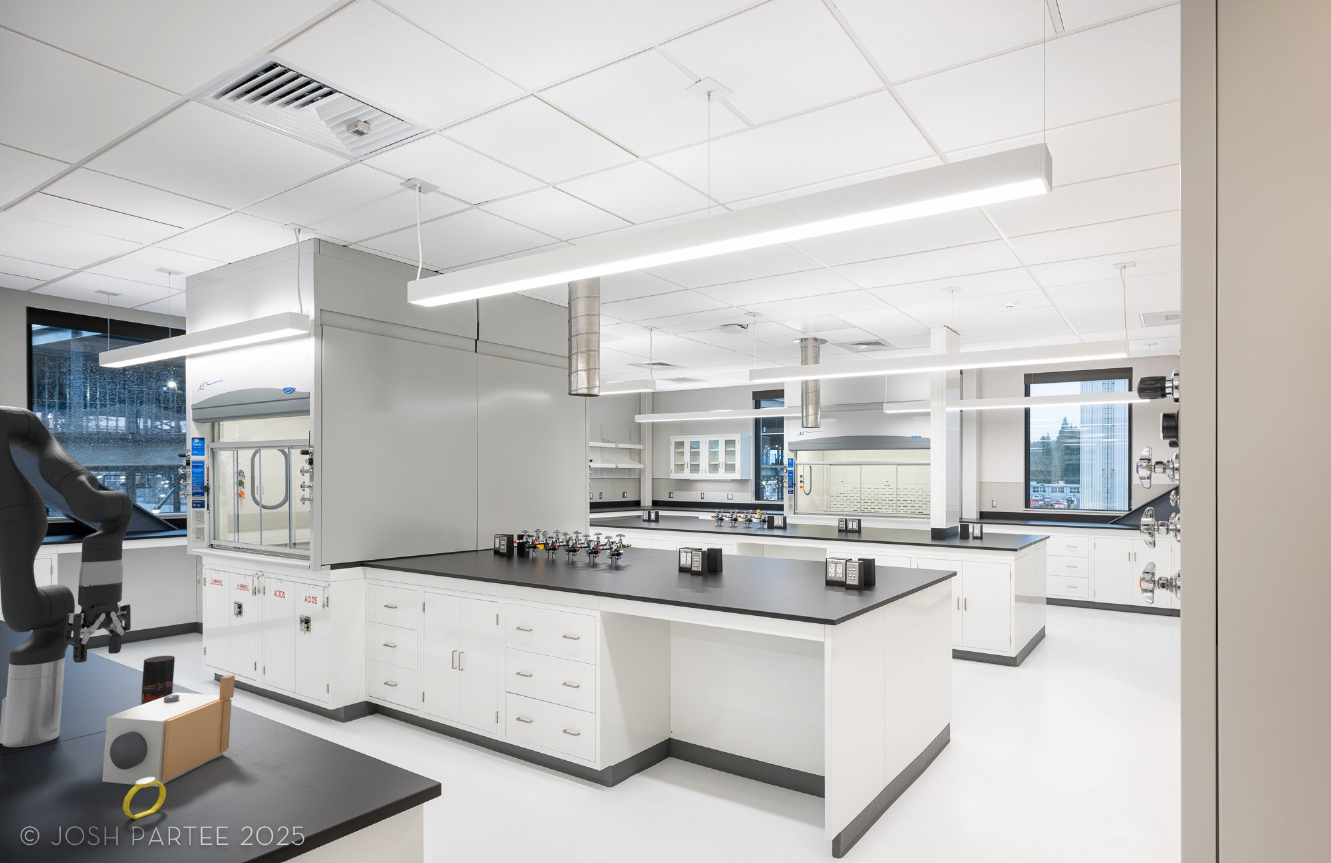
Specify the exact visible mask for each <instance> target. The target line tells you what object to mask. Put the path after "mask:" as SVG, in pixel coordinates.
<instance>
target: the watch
mask: <svg viewBox="0 0 1331 863" xmlns="http://www.w3.org/2000/svg"><path fill="white" fill-rule="evenodd" d="M154 783H155V784H157V785H158V788H159V796H158V799H157V801H156V803H155V804H154V805H153V806H152V807H151V808H150V809H148V810H145V811H143V812H139V813H137V814H135V815H134V814H133V813H131V810H130V804H131V801H132V799H133V797H134V796H135V794H136V793H137V792H138V791H139V790H140V789H143V788H144V789H145V788H148V787H152V786H151V785H153V784H154ZM166 796H167V789H166V786H165V785H164V784H162V783H161V782H159V781H156V780H155V778H154V777H147V778H143V779H140V780H138V781H137V782H136V785H134V786H133V787H131V788H130V790H128V792H127V794H126V796H125V797H124V800H123V802H122V803H123V804H122V810H123V812H124V814H125V815H126V816H128V817H130V818H132V819H134V820H139V819H142V818H143V817H147V816H149V815H152V814H154V813H157V812H158V810H159V809H160V808H161V807H162V805H163V803H164V801H165V799H166Z"/></svg>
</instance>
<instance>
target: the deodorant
mask: <svg viewBox="0 0 1331 863" xmlns="http://www.w3.org/2000/svg"><path fill="white" fill-rule="evenodd" d="M175 658H176V657H175V656H174V655H157V656H152V657H147V658H145V659H144V660H143V666H142V668H143V669H142V683H141V684H142V685H141V699H140V705H142V704H145V703H148V702H151V701H154V700H156V699H159V698H162V697H165V696H168V695H171V694H173V693H174V692H173V691H174V675H175V661H176V660H175Z"/></svg>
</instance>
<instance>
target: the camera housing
mask: <svg viewBox="0 0 1331 863" xmlns="http://www.w3.org/2000/svg"><path fill="white" fill-rule="evenodd" d="M219 696H220V694H206V693H205V694H204V693H191V692H172V694H171V695H168V696H165V697H162V698H159V699H156V700H154V701H151V702H148V703H145V704H142V705H141V704H140V705H136V706H135V707H131V708H129V709H126V710H123V711H121V712H117V713H115V714H112V715H109V716H107V717H106V726H105V739H104V740H105V741H104V751H103V752H104V754H103V767H102V768H103V769H102V782H103V783H112V784H114V783H115V784H123V785H124V784H126V785H134V786H135V785H136V782H137V781H138V780H140V779H143V778H147V777H154V778H155V780H156V781H159V782H161V783H162V784H163V785H164V784H166V783H168V782H171V781H173V780H174V779H177V778H178V777H180V776H183V775H185V774H186V773H189V772H190V771H192V770H195V769H196V768H198V767H201V766H202V765H205V764H206V763H208V762H210V761H212V760H215V759H216V758H218V757H220V756H222V755H224V752H223V753H221V754H219V755H217V756H215V757H213V758H211V759H209V760H207V761H205V762H203V763H201V764H199V765H197V766H195V767H193V768H191V769H189V770H187V771H185V772H183V773H181V774H179V775H177V776H175V777H173V778H170V779H168V780H166V781H165V780H162V779H163V764H164V749H165V733H166V720H169V719H172V718H174V717H177V716H179V715H182V714H184V713H187V712H189V711H192V710H194V709H197V708H199V707H202V706H204V705H207V704H209V703H212V702H214V701H217V700H219ZM150 787H155V788H156V787H157V788H159V786H158V785H157V784H155V783H154V784H153V785H151V786H150Z"/></svg>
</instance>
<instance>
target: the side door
mask: <svg viewBox="0 0 1331 863" xmlns="http://www.w3.org/2000/svg"><path fill="white" fill-rule="evenodd" d="M235 679H236V678H235V674H227V675H223V676H221V677H220V680H219V681H220V682H219V695H220V696H219V700H217V701H214V702H212V703H209V704H207V705H204V706H202V707H199V708H197V709H194V710H192V711H189V712H187V713H184V714H182V715H179V716H177V717H174V718H172V719H169V720H166V733H165V749H164V764H163V779H162V780H165V781H166V780H168V779H170V778H173V777H175V776H177V775H179V774H181V773H183V772H185V771H187V770H189V769H191V768H193V767H195V766H197V765H199V764H201V763H203V762H205V761H207V760H209V759H211V758H213V757H215V756H217V755H219V754H221V753H223V754H224V753H225V752H227V751H228V749H229V747H230V733H231V731H230V730H231V716H232V698H234V695H235V693H234V691H235Z"/></svg>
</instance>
